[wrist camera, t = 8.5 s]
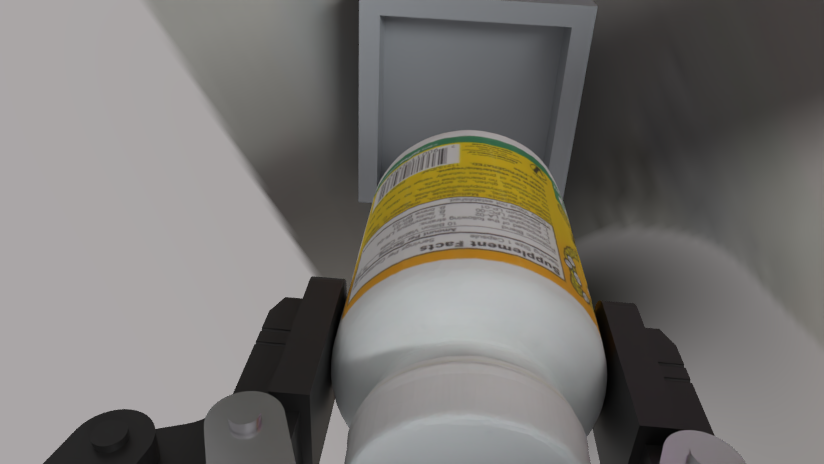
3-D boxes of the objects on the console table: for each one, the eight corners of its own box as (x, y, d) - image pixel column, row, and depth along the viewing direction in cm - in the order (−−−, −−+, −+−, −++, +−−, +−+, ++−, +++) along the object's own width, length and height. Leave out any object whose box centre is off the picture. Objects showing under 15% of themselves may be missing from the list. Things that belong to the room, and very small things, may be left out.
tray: (588, -5, 26) (597, 6, 24) (553, 194, 30) (559, 217, 28) (367, -18, 26) (359, -9, 24) (365, 180, 30) (358, 201, 28)
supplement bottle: (398, 101, 17) (332, 335, 9) (594, 155, 17) (712, 431, 9) (355, 267, 20) (272, 568, 11) (525, 311, 20) (566, 635, 12)
